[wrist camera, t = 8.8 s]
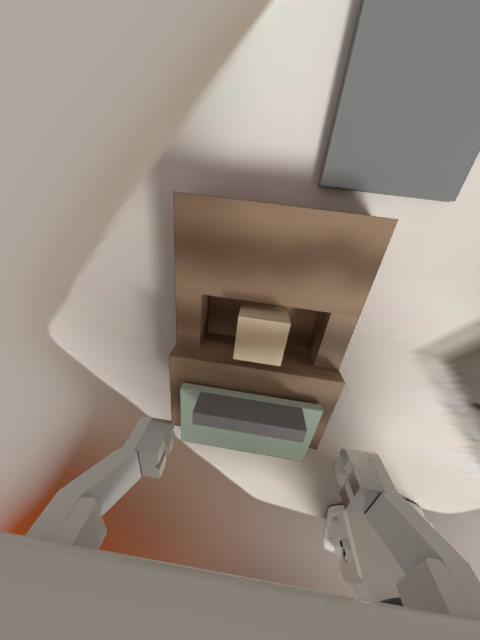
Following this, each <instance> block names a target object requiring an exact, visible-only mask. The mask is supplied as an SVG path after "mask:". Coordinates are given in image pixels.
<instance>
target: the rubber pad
mask: <svg viewBox="0 0 480 640" xmlns="http://www.w3.org/2000/svg"><path fill="white" fill-rule="evenodd" d="M479 151H480V0H362V3H361V7H360V11H359V15H358V20H357V24H356V28H355V32H354V37H353V41H352V45H351V49H350V54H349V58H348V62H347V66H346V71H345V75H344V79H343V83H342V88H341V92H340V96H339V100H338V105H337V109H336V113H335V117H334V122H333V126H332V130H331V134H330V139H329V143H328V147H327V151H326V156H325V160H324V164H323V168H322V173H321V177H320V181H319V185H318V186H319V187H327V188H336V189H344V190H353V191H361V192H370V193H378V194H386V195H395V196H403V197H412V198H420V199H429V200H437V201H445V202H450V201H455V200H456V198H457V196H458V194H459V192H460V190H461V188H462V186H463V184H464V182H465V180H466V178H467V176H468V174H469V171H470V169H471V167H472V165H473V163H474V161H475V159H476V157H477V155H478V153H479Z"/></svg>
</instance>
